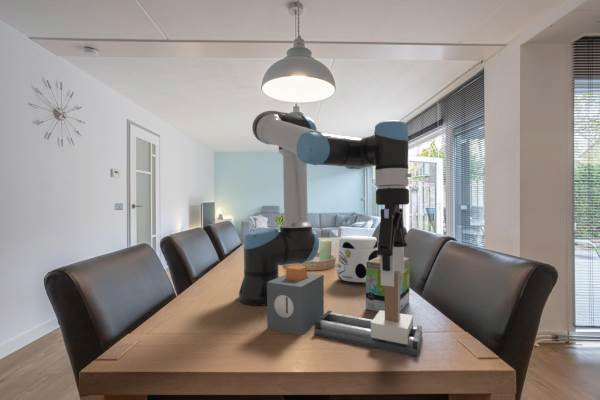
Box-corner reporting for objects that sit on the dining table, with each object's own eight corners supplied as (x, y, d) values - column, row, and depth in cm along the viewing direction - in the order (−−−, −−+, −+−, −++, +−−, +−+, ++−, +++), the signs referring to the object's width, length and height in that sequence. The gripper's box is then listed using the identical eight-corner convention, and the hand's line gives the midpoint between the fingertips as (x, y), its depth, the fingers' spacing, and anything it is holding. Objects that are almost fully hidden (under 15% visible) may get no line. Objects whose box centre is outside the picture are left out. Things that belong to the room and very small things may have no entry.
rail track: (314, 334, 76) (314, 322, 76) (329, 320, 85) (329, 309, 85) (417, 356, 65) (417, 342, 65) (422, 338, 74) (422, 325, 74)
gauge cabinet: (266, 328, 80) (266, 282, 80) (293, 311, 93) (292, 271, 93) (300, 336, 76) (300, 287, 76) (323, 316, 88) (323, 274, 88)
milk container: (328, 281, 127) (327, 237, 127) (354, 274, 139) (353, 234, 139) (362, 290, 115) (362, 241, 115) (388, 281, 126) (388, 237, 126)
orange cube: (286, 282, 83) (286, 268, 84) (293, 279, 87) (293, 265, 87) (300, 284, 82) (299, 269, 82) (306, 281, 85) (306, 266, 85)
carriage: (370, 337, 70) (370, 274, 70) (380, 323, 79) (379, 266, 79) (407, 344, 67) (407, 278, 67) (413, 328, 75) (413, 269, 75)
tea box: (398, 316, 89) (398, 264, 89) (364, 310, 94) (364, 261, 94) (410, 301, 101) (410, 256, 101) (380, 296, 107) (379, 253, 107)
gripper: (399, 184, 60) (401, 294, 60) (415, 189, 82) (416, 269, 82) (361, 186, 63) (362, 290, 63) (386, 190, 86) (388, 267, 85)
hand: (393, 278), depth 72 cm, fingers open, 13 cm apart
